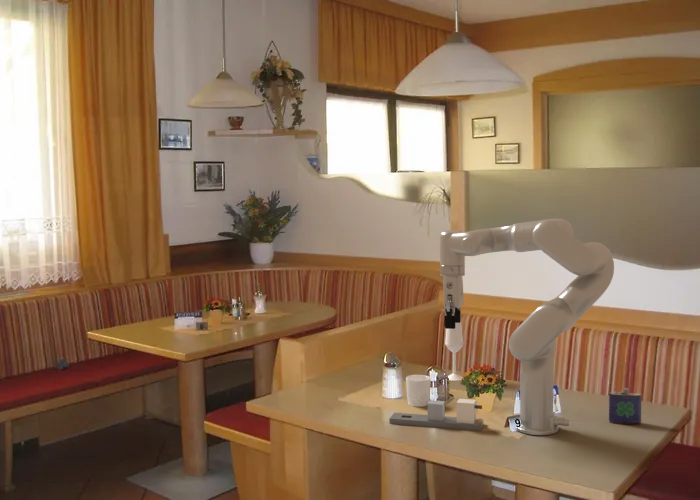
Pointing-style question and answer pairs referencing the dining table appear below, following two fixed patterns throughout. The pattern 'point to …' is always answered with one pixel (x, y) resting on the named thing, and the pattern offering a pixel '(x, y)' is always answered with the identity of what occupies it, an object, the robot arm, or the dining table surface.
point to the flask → (625, 407)
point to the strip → (433, 422)
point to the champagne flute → (454, 347)
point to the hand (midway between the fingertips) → (452, 325)
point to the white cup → (418, 390)
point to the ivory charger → (467, 411)
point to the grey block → (436, 410)
